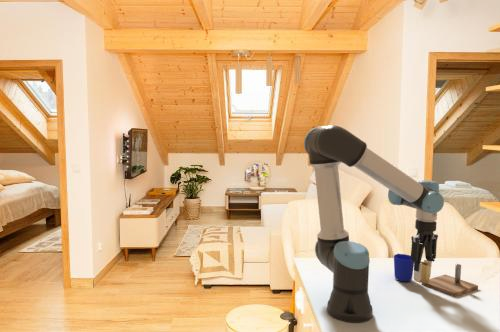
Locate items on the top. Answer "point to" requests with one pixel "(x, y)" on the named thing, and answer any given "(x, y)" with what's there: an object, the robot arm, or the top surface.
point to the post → (457, 274)
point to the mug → (403, 267)
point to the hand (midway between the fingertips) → (421, 277)
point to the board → (450, 285)
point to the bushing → (424, 273)
